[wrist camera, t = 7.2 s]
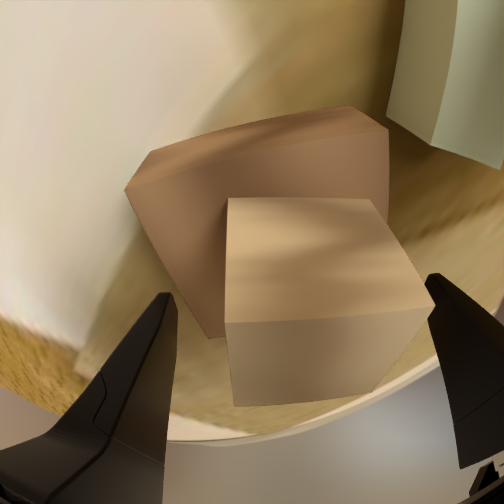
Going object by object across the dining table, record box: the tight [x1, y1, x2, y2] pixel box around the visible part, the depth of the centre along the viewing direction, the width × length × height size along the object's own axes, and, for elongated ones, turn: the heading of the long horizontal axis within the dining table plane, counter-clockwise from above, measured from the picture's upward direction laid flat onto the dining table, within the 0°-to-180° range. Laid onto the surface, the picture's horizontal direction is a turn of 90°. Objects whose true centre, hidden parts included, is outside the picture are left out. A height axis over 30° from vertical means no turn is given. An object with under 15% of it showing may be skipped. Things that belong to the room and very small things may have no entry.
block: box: [386, 0, 504, 170], centre depth 7 cm, size 4×9×4 cm, turn 175°
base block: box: [124, 105, 389, 339], centre depth 13 cm, size 9×9×4 cm
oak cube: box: [225, 197, 436, 407], centre depth 9 cm, size 5×5×5 cm
